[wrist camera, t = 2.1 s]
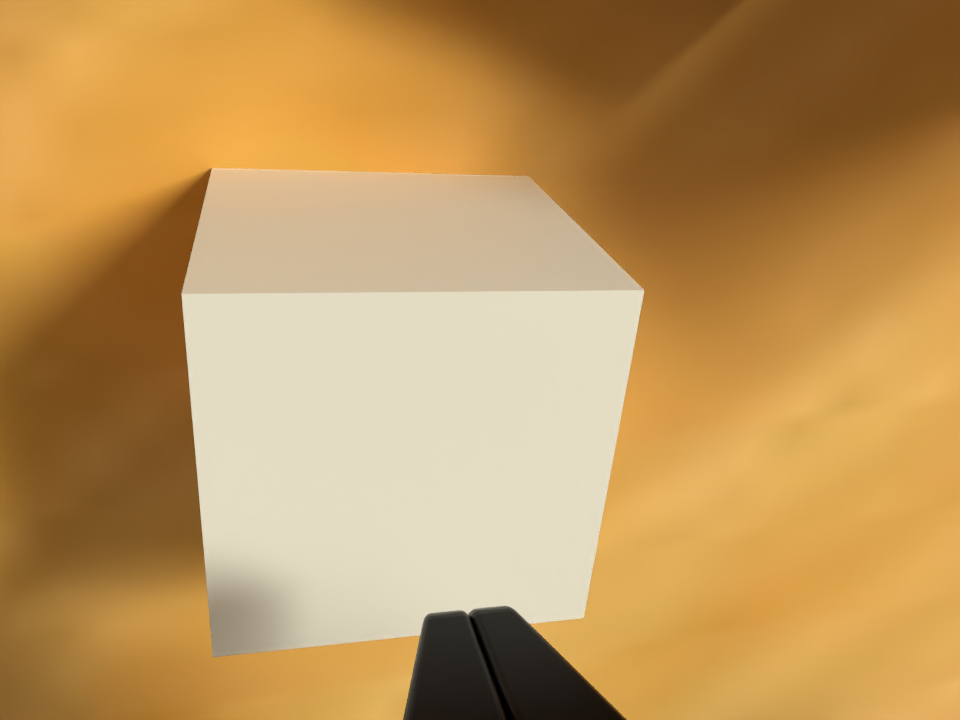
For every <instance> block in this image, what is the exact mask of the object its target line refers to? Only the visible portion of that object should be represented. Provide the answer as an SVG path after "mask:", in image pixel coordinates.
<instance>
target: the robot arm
mask: <svg viewBox="0 0 960 720" xmlns="http://www.w3.org/2000/svg"><path fill="white" fill-rule="evenodd" d="M403 720H626V719H625V718H624V717H623V716H622V715H621V714H620V713H619V712H618V711H617V710H616V709H615V708H614V707H613V706H612V705H611V704H610V703H609V702H608V701H607V700H606V699H605V698H604V697H603V696H602V695H601V694H600V693H599V692H598V691H597V690H596V689H595V688H594V687H593V686H592V685H591V684H590V683H589V682H588V681H587V680H586V679H585V678H584V677H583V676H582V675H581V674H580V673H579V672H578V671H577V670H576V669H575V668H574V667H573V666H572V665H571V664H570V663H569V662H568V661H567V660H566V659H565V658H564V657H562V656H561V655H560V654H559V653H558V652H557V651H556V650H555V649H554V648H553V647H552V646H551V645H550V644H549V643H548V642H547V641H546V640H545V639H544V638H543V637H542V636H541V635H540V634H539V633H538V632H537V631H536V630H535V629H534V628H533V627H532V626H531V625H530V624H529V623H528V622H527V621H526V620H525V619H524V618H523V617H522V616H521V615H520V614H519V613H518V612H517V611H516V610H514V609H513V608H511V607H509V606H497V607H487V608H476V609H473V610H472V611H470V612H469V614H467V613H466V612H465V611H463V610H457V611H447V612H437V613H430V614H427V615H426V616H425V618H424V620H423V624H422V629H421V634H420V639H419V644H418V649H417V654H416V659H415V664H414V669H413V674H412V679H411V684H410V689H409V693H408V698H407V703H406V708H405V713H404V718H403Z"/></svg>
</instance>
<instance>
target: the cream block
mask: <svg viewBox="0 0 960 720" xmlns="http://www.w3.org/2000/svg"><path fill="white" fill-rule="evenodd" d="M181 295H182V306H183V318H184V329H185V341H186V352H187V364H188V375H189V387H190V398H191V409H192V421H193V432H194V444H195V455H196V467H197V478H198V490H199V501H200V513H201V524H202V536H203V547H204V559H205V570H206V582H207V593H208V604H209V616H210V627H211V639H212V650H213V657H219V656H228V655H238V654H247V653H257V652H266V651H276V650H285V649H295V648H304V647H314V646H323V645H333V644H342V643H352V642H361V641H371V640H380V639H390V638H399V637H409V636H418V635H420V634H421V629H422V624H423V620H424V618H425V616H426V615H427V614H430V613H437V612H447V611H457V610H463V611H465V612H466V613H467V614H469V612H470V611H472V610H473V609H476V608H487V607H497V606H509V607H511V608H513V609H514V610H516V611H517V612H518V613H519V614H520V615H521V616H522V617H523V618H524V619H525V620H526V621H527V622H528V623H529V624H532V623H541V622H551V621H560V620H570V619H579V618H584V613H585V607H586V602H587V597H588V591H589V586H590V580H591V575H592V570H593V564H594V559H595V554H596V548H597V543H598V537H599V532H600V527H601V521H602V516H603V511H604V505H605V500H606V494H607V489H608V484H609V478H610V473H611V468H612V462H613V457H614V451H615V446H616V441H617V435H618V430H619V425H620V419H621V414H622V408H623V403H624V398H625V392H626V387H627V382H628V376H629V371H630V365H631V360H632V355H633V349H634V344H635V339H636V333H637V328H638V322H639V317H640V312H641V306H642V301H643V296H644V289H643V288H642V287H641V286H640V285H639V284H638V283H637V282H636V281H635V280H634V279H633V278H632V277H631V276H630V275H629V274H628V273H627V272H626V271H624V270H623V269H622V268H621V267H620V266H619V265H618V264H617V263H616V262H615V261H614V260H613V259H612V258H611V257H610V256H609V255H608V254H607V253H606V252H605V251H604V250H603V249H602V248H601V247H600V246H599V245H598V244H597V243H596V242H595V241H594V240H593V239H592V238H591V237H590V236H589V235H588V234H587V233H586V232H585V231H584V230H583V229H582V228H581V227H580V226H579V225H578V224H577V223H576V222H575V221H574V220H573V219H572V218H571V217H570V216H569V215H568V214H567V213H566V212H565V211H564V210H563V209H562V208H561V207H560V206H559V205H558V204H557V203H556V202H555V201H554V200H553V199H551V198H550V197H549V196H548V195H547V194H546V193H545V192H544V191H543V190H542V189H541V188H540V187H539V186H538V185H537V184H536V183H535V182H534V181H533V180H532V179H531V178H530V177H529V176H513V175H474V174H434V173H395V172H355V171H316V170H276V169H237V168H212V170H211V174H210V178H209V182H208V186H207V190H206V195H205V199H204V203H203V207H202V211H201V215H200V219H199V224H198V228H197V232H196V236H195V240H194V244H193V248H192V252H191V257H190V261H189V265H188V269H187V273H186V277H185V281H184V285H183V290H182V294H181Z"/></svg>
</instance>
